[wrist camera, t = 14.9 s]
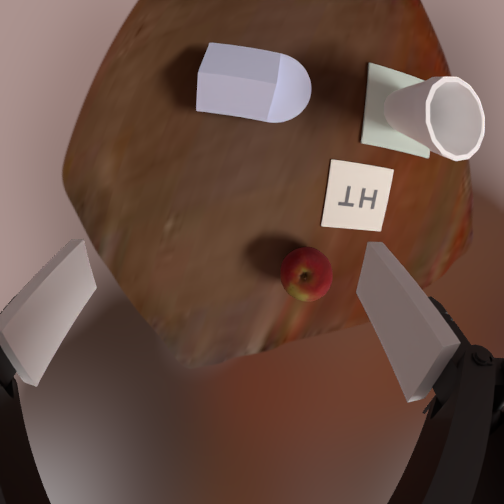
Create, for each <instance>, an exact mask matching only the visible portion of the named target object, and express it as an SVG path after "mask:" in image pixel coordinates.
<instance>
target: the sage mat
mask: <svg viewBox="0 0 504 504" xmlns="http://www.w3.org/2000/svg"><path fill="white" fill-rule="evenodd" d="M420 82H424V80H421V79H419V78H416V77H413V76H410V75H408V74H405V73H402V72H399V71H396V70H393V69H389V68H386V67H383V66H380V65H376V64H373V63H368V78H367V90H366V101H365V111H364V120H363V128H362V136H361V143H364V144H369V145H374V146H379V147H384V148H388V149H393V150H397V151H401V152H406V153H410V154H414V155H418V156H421V157H425V158H429V154H430V149H429V148H428V147H426V146H424V145H423V144H421V143H419V142H417V141H415V140H414V139H412V138H410V137H408V136H406V135H404V134H402V133H400V132H398V131H396V130H394V129H393V128H392V127H391V126H390V125H389V124H388V123H387V120H386V118H385V115H384V102H385V100H386V98H387V96H388V95H389V94H391V93H392V92H393V91H396V90H399V89H402V88H405V87H408V86H411V85H414V84H417V83H420Z"/></svg>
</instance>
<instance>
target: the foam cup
mask: <svg viewBox="0 0 504 504" xmlns="http://www.w3.org/2000/svg"><path fill="white" fill-rule="evenodd" d="M384 115H385V118H386V120H387V123H388V124H389V125H390V126H391V127H392V128H393V129H394V130H396V131H398V132H400V133H402V134H404V135H406V136H408V137H410V138H412V139H414V140H415V141H417V142H419V143H421V144H423V145H424V146H426V147H428V148H429V149H430V150H431V151H432V152H434V153H437V154H439V155H441V156H444V157H446V158H449V159H452V160H454V161H460V160H465V159H469V158H470V157H471V156H472V155H473V154H474V153H475V152H476V151H477V150H478V149H479V147H480V144H481V142H482V139H483V137H484V131H485V115H484V112H483V108H482V105H481V102H480V99H479V97H478V96H477V94H476V93H475V91H474V90H473V89H472V87H471V86H470V85H469V84H468V83H466V82H465V81H463V80H461V79H460V78H458V77H431V78H430V79H428V80H427V81H424V82H420V83H417V84H414V85H411V86H408V87H405V88H402V89H399V90H396V91H393V92H392V93H391V94H389V95H388V96H387V98H386V100H385V102H384Z"/></svg>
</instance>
